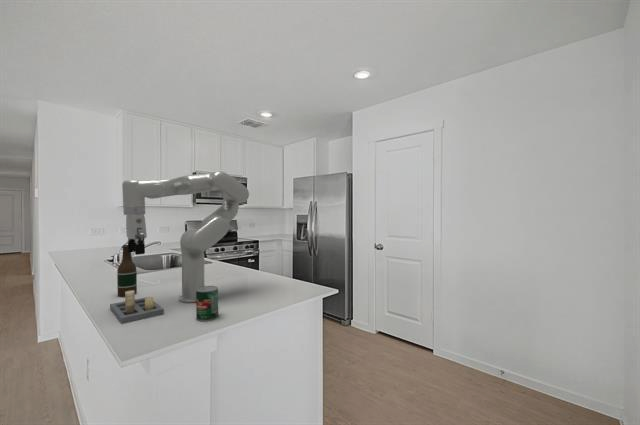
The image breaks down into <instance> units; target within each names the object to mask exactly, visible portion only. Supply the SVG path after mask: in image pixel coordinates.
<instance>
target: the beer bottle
mask: <svg viewBox="0 0 640 425" xmlns="http://www.w3.org/2000/svg"><path fill="white" fill-rule="evenodd" d="M121 248H122V255H121V256H122V257H121V262H120V263H119V265H118V267H117V273H116V274H117V280H116V281H117V283H116V284H117V286H116V287H117V296H118V297H119V298H125V292H126V291H129V290H134V291H135V295H137V291H138V285H137V284H138V282H137V280H138V278H137V274H138V273H137V267H136V266H137V265H136V264H135V263H134V262H133V258H132V252H128V244H122V247H121Z"/></svg>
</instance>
